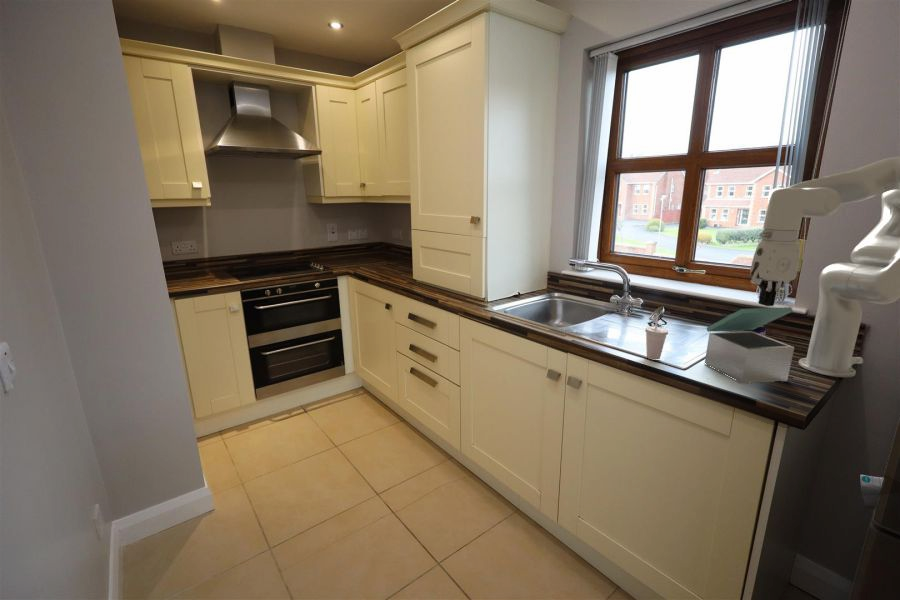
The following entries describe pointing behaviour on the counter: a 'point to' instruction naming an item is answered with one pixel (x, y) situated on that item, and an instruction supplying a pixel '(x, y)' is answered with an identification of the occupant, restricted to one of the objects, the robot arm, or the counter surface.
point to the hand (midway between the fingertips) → (765, 304)
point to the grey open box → (749, 356)
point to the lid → (749, 319)
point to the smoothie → (655, 340)
